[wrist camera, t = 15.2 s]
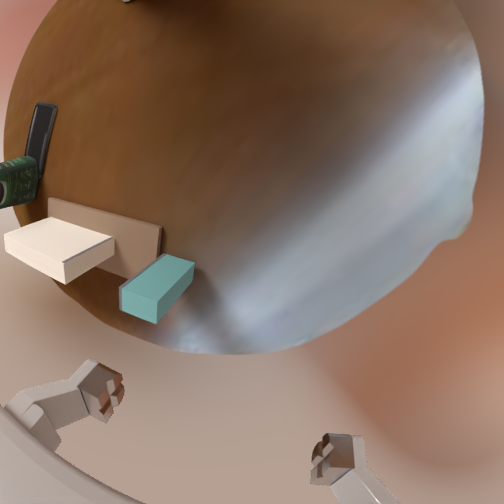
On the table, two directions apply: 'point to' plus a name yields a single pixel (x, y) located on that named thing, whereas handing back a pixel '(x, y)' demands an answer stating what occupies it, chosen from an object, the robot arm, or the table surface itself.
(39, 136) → the phone
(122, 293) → the teal rectangular block
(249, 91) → the table surface
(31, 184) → the coffee jar
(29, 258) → the stand
